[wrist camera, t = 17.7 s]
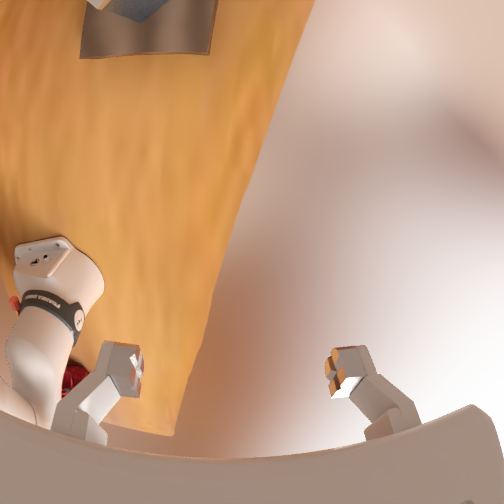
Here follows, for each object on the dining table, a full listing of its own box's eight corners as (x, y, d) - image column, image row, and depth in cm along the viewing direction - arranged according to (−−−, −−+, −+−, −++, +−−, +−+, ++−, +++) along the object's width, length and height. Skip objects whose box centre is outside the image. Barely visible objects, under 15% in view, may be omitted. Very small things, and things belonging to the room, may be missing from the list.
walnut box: (98, 58, 28) (79, 58, 23) (112, -24, 20) (96, -34, 15) (209, 55, 31) (205, 52, 26) (224, -30, 23) (224, -45, 18)
